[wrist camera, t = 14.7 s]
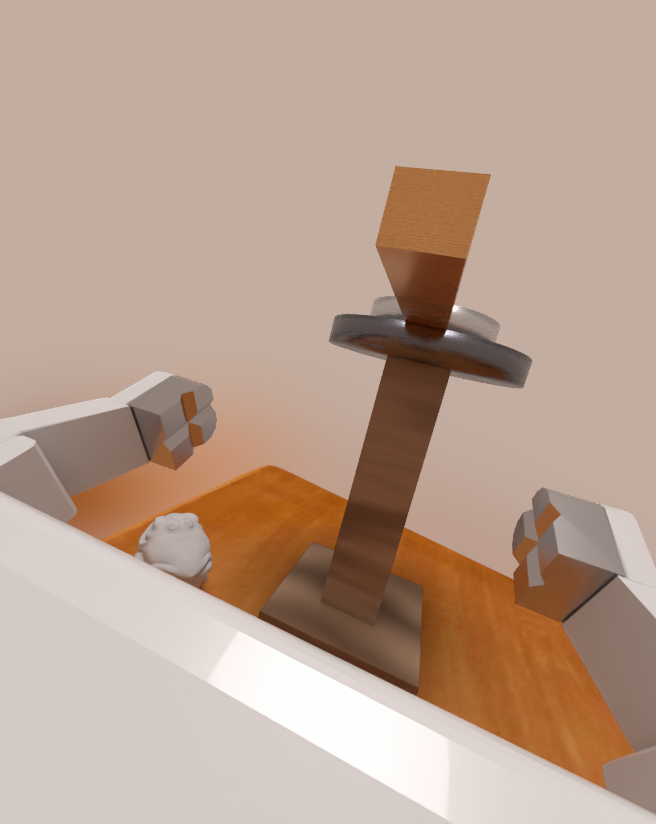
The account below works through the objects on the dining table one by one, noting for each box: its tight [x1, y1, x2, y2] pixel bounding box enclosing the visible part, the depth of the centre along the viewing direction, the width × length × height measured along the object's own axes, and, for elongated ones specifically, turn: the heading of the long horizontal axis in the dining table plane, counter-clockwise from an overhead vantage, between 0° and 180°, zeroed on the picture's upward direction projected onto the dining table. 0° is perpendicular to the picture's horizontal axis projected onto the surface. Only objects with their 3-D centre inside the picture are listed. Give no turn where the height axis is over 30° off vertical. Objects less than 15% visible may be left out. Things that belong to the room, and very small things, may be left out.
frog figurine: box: [134, 513, 212, 588], centre depth 28 cm, size 6×7×7 cm
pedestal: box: [258, 314, 532, 696], centre depth 31 cm, size 16×16×26 cm
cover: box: [370, 166, 500, 343], centre depth 21 cm, size 24×10×2 cm, turn 163°
